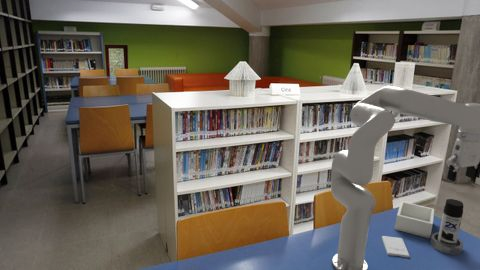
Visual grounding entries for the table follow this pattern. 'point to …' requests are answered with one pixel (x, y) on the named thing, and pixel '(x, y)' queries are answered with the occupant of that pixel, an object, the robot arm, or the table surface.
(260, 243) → the table surface
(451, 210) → the spray can
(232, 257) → the table surface
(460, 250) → the collar
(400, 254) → the external hard drive
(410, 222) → the bin
